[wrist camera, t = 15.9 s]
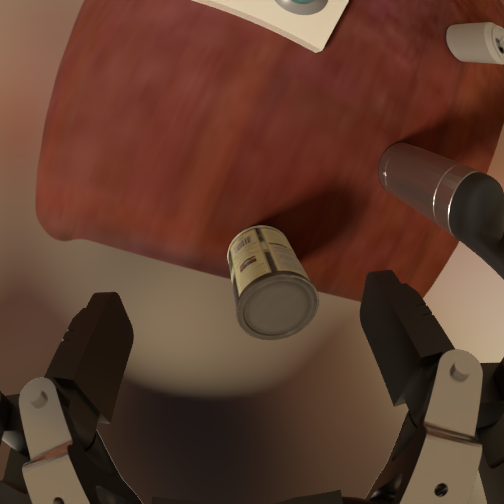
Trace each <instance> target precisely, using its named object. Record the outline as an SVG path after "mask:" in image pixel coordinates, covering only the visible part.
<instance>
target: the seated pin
mask: <svg viewBox="0 0 504 504" xmlns="http://www.w3.org/2000/svg"><path fill="white" fill-rule="evenodd" d="M291 1H293V2H295V3H298V4H308V3H311V2H312V1H314V0H291Z"/></svg>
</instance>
